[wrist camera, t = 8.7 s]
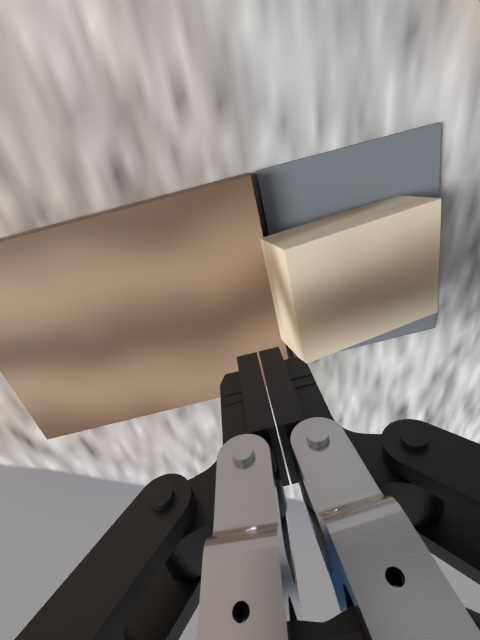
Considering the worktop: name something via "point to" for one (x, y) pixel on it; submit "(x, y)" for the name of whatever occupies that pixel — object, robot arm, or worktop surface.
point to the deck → (135, 306)
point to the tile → (355, 274)
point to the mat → (354, 187)
